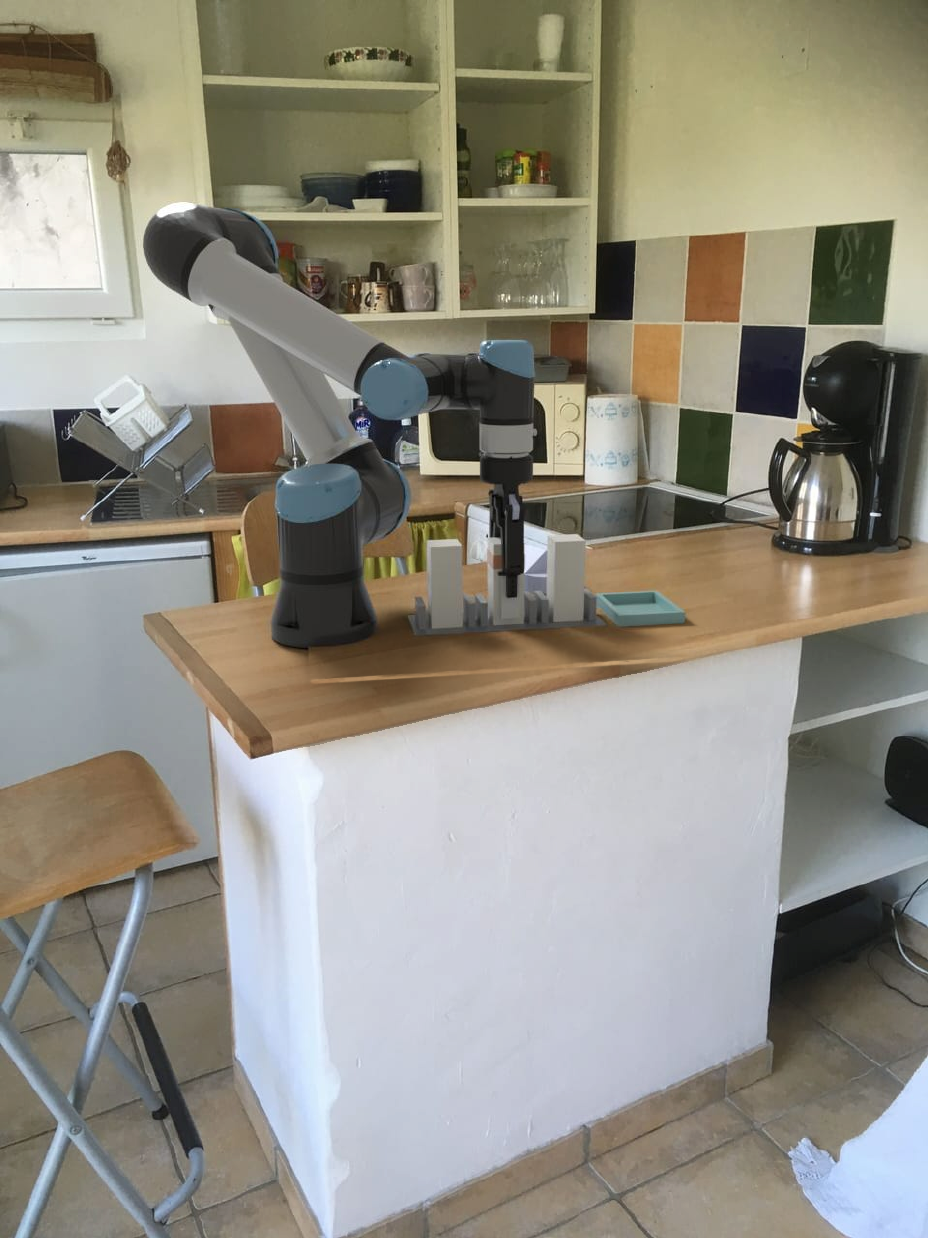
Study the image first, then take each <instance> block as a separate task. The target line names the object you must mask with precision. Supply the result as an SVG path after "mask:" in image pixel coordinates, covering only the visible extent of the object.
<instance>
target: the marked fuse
mask: <svg viewBox="0 0 928 1238" xmlns="http://www.w3.org/2000/svg"><path fill="white" fill-rule="evenodd" d="M525 544H526V543H525V542H524V551H525ZM486 549H487V551H486V552H487V553H486V555H487V556H486V557H487V559H486V562H487V602H488V618H489V619H490V621H491V622H492V624H493V625H507V624H524V592H525V591H524V573H523V574H521V575H520V618H509V619H501V618H500V576H498V573H497V572H500V571H502V551H501V537H495V538H489V537H487V548H486ZM512 566H513V565H512ZM524 568H525V554H524Z"/></svg>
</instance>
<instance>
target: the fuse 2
mask: <svg viewBox="0 0 928 1238" xmlns="http://www.w3.org/2000/svg"><path fill="white" fill-rule="evenodd" d="M586 541H587V540H586V539H584V538H583V537H581V535H580V534H577V533H573V534H572V533H571V534H550V535H549V534H548V535H547V544H546V545H547V549H546V550H547V594H545V596H546V597H547V598H548V599H549V613H548V616H549V617H550V618H551V620H552V621H553V622H562V621H580V620H583V611H584V589H585V579H586V577H585V576H586V575H585V573H586V572H585V571H586Z"/></svg>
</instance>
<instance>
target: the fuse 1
mask: <svg viewBox="0 0 928 1238" xmlns="http://www.w3.org/2000/svg"><path fill="white" fill-rule="evenodd" d="M426 581H427V582H426V583H427V584H426V587H427V588H426V590H427V614H428V621H429V623H430V625H431V628H432V629H434V628H452V627H463V595H464V593H463V587H464V585H463V584H464V583H463V545H462V544H461V542H460V541H459V539H458V538H453V539H452V538H451V539H450V538H449V539H428V540H426Z"/></svg>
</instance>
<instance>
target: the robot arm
mask: <svg viewBox="0 0 928 1238" xmlns="http://www.w3.org/2000/svg"><path fill="white" fill-rule="evenodd" d="M143 234H144V235H143V240H142V248H143V255H144V258H145V260H146V264H147V266H148V267H149V270H150V271H151V272H152V274H153V275H154V276H155V278H156V279H157V280H158V281H160V282H161V283H162V284H163V285H164V286H166V287H167V288H168V289H170V290H172V291H173V292H175V293H176V294H179V296H181V297H183V298H185V299H186V300H189V302H192V303H193V304H194V305H197V306H199V307H206V306H208V307H209V310H210V311H211V312H212V314H213V316H214V317H215V318H219V319H222V320H225V321H227V322H228V323H229V325H230V326H231V327H232V329H233V331H234V333H235V335H236V336H237V338H238V340H239V342H240V345H242V347H243V349H244V350H245V352H246V354H247V356H248V357H249V360H250V362H251V363H252V365H253V366H254V369H255V371H256V372H257V374H258V375H259V377H260V379H261V381H262V383H263V385H264V387H265V388H266V390H267V392H268V394H269V395H270V397H271V398H272V400H273V403H274V404H275V406H276V408H277V410H278V411H279V414H280V415H281V417H282V418H283V420H284V422H285V424H286V426H287V428H288V429H289V431H290V432H291V434H292V437H293V439H294V440H295V442H296V444H297V445H298V448H299V449H300V451H301V452H302V455H303V457H304V458H305V459H306V461H307V466H300V467H297V468H293V469H291V470H289V471H286V472H285V473H283V474H282V475H281V476H280V477H279V478H278V480H276V481H277V482H276V486H275V499H274V509H275V514H276V530H277V543H278V558H279V572H280V573H279V576H280V583H279V584H280V585H279V587H278V592H277V596H276V600H275V604H274V607H273V610H272V613H271V618H270V634H271V635H270V636H271V638H272V639H273V641H275V642H277V643H279V644H281V645H284V646H286V647H287V646H288V647H293V648H299V649H309V647H310V648H322V647H324V648H326V647H337V646H344V645H349V644H354V643H357V642H361V641H365V640H366V639H368V638H371V637H372V636H373V635H375V634H376V633H377V632H378V617H377V612H376V610H375V607H374V604H373V602H372V599H371V596H370V594H369V591H368V589H367V586H366V583H365V579H364V565H363V563H364V561H363V560H364V559H363V558H364V557H363V547H365V546H366V545H368V544H372V543H374V542H375V541H380V540H382V539H384V538H385V537H387V536H390V535H391V534H392V533H393V532H395V531H396V530H397V529H399V527H400V526H401V525H402V524H403V523H404V522H405V521H406V519H407V516H408V515H409V512H410V507H411V503H412V493H411V492H412V490H411V487H410V486H411V485H410V483H409V480H408V478H407V476H406V475H405V473H404V472H403V471H402V470H401V468H400V467H399V466H398V465H396V464H395V463H393V462H390V461H389V460H386V459H384V458H383V457H382V455H381V454H380V452H379V450H378V448H377V446H376V445H375V443H374V441H373V440H372V439H370V438H367V437H364V436H361V435H359V434H358V433H357V431H356V429H355V428H354V426H353V424H352V422H351V421H350V418H349V416H348V415H347V412H346V411H345V410H344V407H343V406H342V404H341V402H340V400H339V399H338V397H337V395H336V393H335V392H334V390H333V388H332V386H331V384H330V382H329V381H328V379H327V377H326V376H328V377H329V378H330V379H333V380H334V381H336V382H337V383H339V384H340V385H342V386H343V387H345V388H348V389H349V390H350V391H352V392H353V393H355V394H356V395H359V396H360V397H361V399H362V401H363V403H364V405H365V407H366V408H367V410H368V411H369V412H370V413H371V414H372V415H374V416H375V417H377V418H378V419H382V420H386V421H402V420H407V419H410V418H413V417H415V416H419V415H423V414H427V413H428V414H429V413H432V412H436V411H440V410H469V411H470V410H471V411H475V410H478V411H479V428H478V429H479V451H480V452H482V453H483V454H481V456H480V457H479V478H480V481H481V482H483V483H485V484H489V485H493V489H489V491H488V493H487V494H488V501H489V503H488V504H489V515H488V516H489V518H488V519H489V525H488V526H489V527H488V529H489V530H488V536H489V537H488V538H495V537H501V551H502V571H500V572H497V573H498V576H500V618H501V619H509V618H520V575H521V574H523V573H524V543H525V514H526V513H525V512H526V505H525V504H524V503H523V496H522V495H520V490H519V486H520V485H521V484H528V483H530V482H532V481H533V479H534V478H533V477H534V457H533V456H532V454H529V453H531V452H532V451H534V438H533V437H535V436H537V435H538V431H537V429H536V428H534V409H535V408H534V407H535V406H534V405H535V403H534V402H535V378H536V372H535V352H534V347H533V345H532V343H531V342H530V341H528V340H524V339H490V340H489V339H488V340H483V341H482V342H481V343H480V345H479V351H478V354H470V355H468V354H446V353H445V354H443V353H442V354H441V353H439V354H437V353H428V352H427V353H426V352H424V353H416V354H415V353H414V354H404V353H402V352H401V351H399V350H397V349H395V348H394V347H392V346H390V345H389V344H386V343H385V342H384V341H382V340H381V339H379V338H377V337H376V336H374V335H372V334H371V333H369V332H368V331H366V330H364V329H363V328H361V327H359V326H358V325H356V324H354V323H352V322H351V321H350V320H347V318H345V317H342V316H341V315H339V314H337V313H336V312H334V311H332V310H331V309H329V308H327V307H326V306H324V305H322V304H321V303H320V302H317V301H316V300H314V299H313V298H312V297H309V296H307V295H306V294H304V293H303V292H300V291H299V290H298V289H296V288H294V287H292V286H291V285H289V284H288V283H286V282H285V281H284V280H283V276H282V275H281V272H280V271H279V269H278V268H279V267H278V266H279V264H278V259H279V250H278V245H277V243H276V240H275V238H274V235H273V233H272V232H271V230H270V229H269V228H268V227H267V226H266V225H265V224H264V223H263V222H262V221H261V220H260V219H259V218H257V217H256V216H254V215H253V214H251V213H247V212H246V211H245V212H244V211H243V210H241V209H237V208H233V207H214V206H209V205H203V204H196V203H190V202H175V203H171V204H169V205H166V206H164V207H162V208H161V209H160V210H158V211H157V212H155V214H153V216H152V217H151V218H150V220H148V223H147V225H146V227H145V230H144V233H143ZM512 565H513V566H512Z"/></svg>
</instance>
